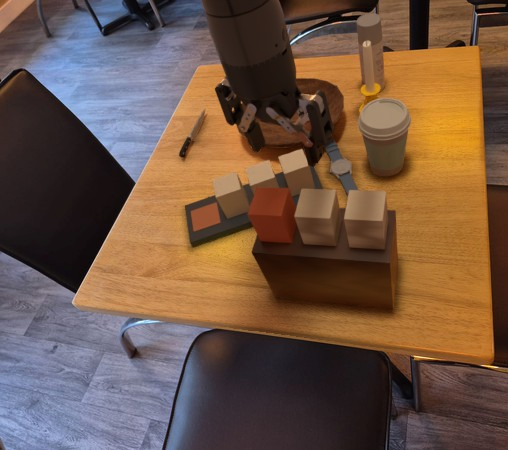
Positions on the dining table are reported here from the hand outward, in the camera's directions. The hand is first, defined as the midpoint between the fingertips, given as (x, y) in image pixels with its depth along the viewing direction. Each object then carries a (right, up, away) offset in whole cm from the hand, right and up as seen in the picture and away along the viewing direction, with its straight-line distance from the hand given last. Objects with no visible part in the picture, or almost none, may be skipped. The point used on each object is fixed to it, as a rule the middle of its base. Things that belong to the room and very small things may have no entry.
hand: (286, 154), depth 58 cm
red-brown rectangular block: (-1, -10, +2) cm, 10 cm away
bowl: (+1, +11, +33) cm, 35 cm away
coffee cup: (+18, +2, +22) cm, 28 cm away
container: (+17, +20, +36) cm, 44 cm away
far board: (-6, -6, +22) cm, 24 cm away
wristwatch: (+9, +1, +23) cm, 25 cm away
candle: (+16, +14, +31) cm, 38 cm away
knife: (-21, +10, +38) cm, 44 cm away
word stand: (+7, -18, +10) cm, 22 cm away
